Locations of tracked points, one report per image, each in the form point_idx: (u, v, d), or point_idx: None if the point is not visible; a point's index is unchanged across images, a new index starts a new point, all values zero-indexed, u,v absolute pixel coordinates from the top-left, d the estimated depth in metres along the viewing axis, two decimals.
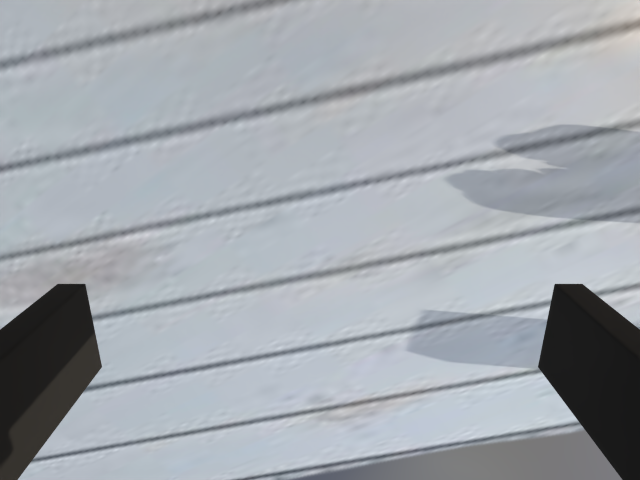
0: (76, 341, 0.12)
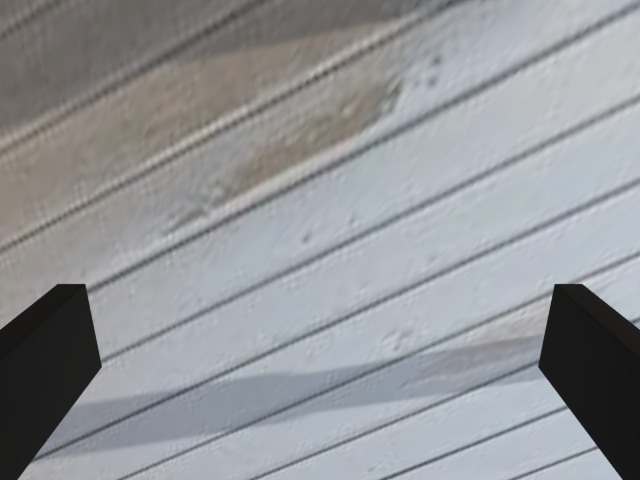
0: (76, 341, 0.12)
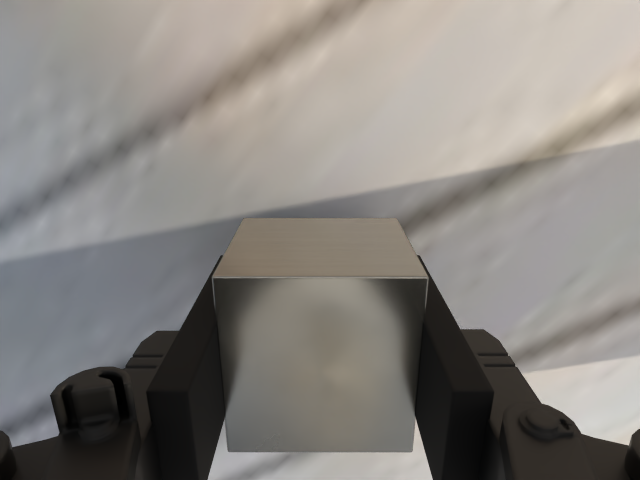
0: None
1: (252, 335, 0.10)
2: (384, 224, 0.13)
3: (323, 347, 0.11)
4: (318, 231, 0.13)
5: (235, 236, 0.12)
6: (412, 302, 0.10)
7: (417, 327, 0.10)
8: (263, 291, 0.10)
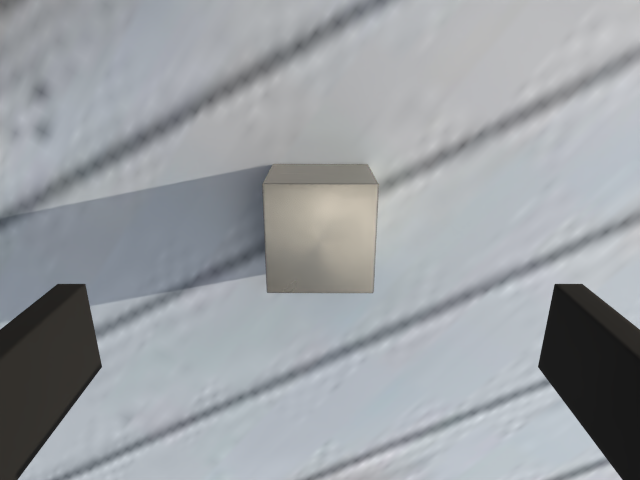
0: (76, 341, 0.12)
1: (283, 218, 0.19)
2: (359, 166, 0.22)
3: (322, 225, 0.19)
4: (319, 169, 0.21)
5: (270, 170, 0.21)
6: (370, 198, 0.19)
7: (373, 213, 0.19)
8: (290, 192, 0.19)
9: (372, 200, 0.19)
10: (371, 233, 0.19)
